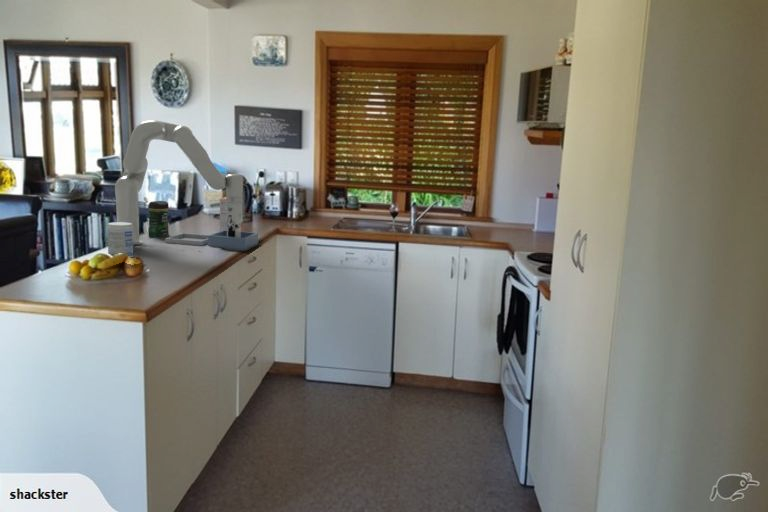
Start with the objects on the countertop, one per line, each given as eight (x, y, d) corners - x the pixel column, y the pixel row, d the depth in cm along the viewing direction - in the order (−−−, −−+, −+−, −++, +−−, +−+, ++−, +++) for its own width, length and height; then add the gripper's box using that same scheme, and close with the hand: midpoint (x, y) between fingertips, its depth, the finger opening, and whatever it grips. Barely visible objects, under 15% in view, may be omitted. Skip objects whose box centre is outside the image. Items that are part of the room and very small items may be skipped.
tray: (201, 247, 286) (201, 241, 285) (165, 244, 288) (165, 238, 287) (216, 241, 303) (216, 235, 303) (182, 238, 305) (182, 232, 305)
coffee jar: (159, 240, 299) (158, 202, 295) (145, 238, 301) (145, 200, 297) (171, 237, 308) (171, 200, 304) (158, 235, 310) (158, 199, 307)
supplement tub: (131, 261, 249) (130, 225, 246) (106, 260, 247) (105, 224, 244) (134, 256, 258) (134, 222, 256) (110, 256, 256) (110, 221, 254)
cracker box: (227, 234, 326) (227, 195, 322) (238, 235, 325) (239, 196, 321) (218, 238, 312) (219, 198, 308) (230, 239, 312) (231, 198, 308)
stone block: (236, 241, 291) (237, 229, 289) (226, 240, 291) (226, 228, 290) (240, 239, 295) (240, 227, 294) (230, 239, 296) (230, 226, 295)
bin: (245, 251, 284) (245, 238, 283) (208, 247, 286) (208, 235, 285) (257, 244, 302) (258, 233, 300) (223, 241, 304) (223, 230, 303)
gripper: (235, 202, 281) (234, 241, 284) (248, 199, 297) (247, 235, 301) (219, 201, 282) (219, 239, 285) (233, 198, 298) (232, 234, 302)
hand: (233, 237), depth 293 cm, fingers closed on stone block, 4 cm apart
